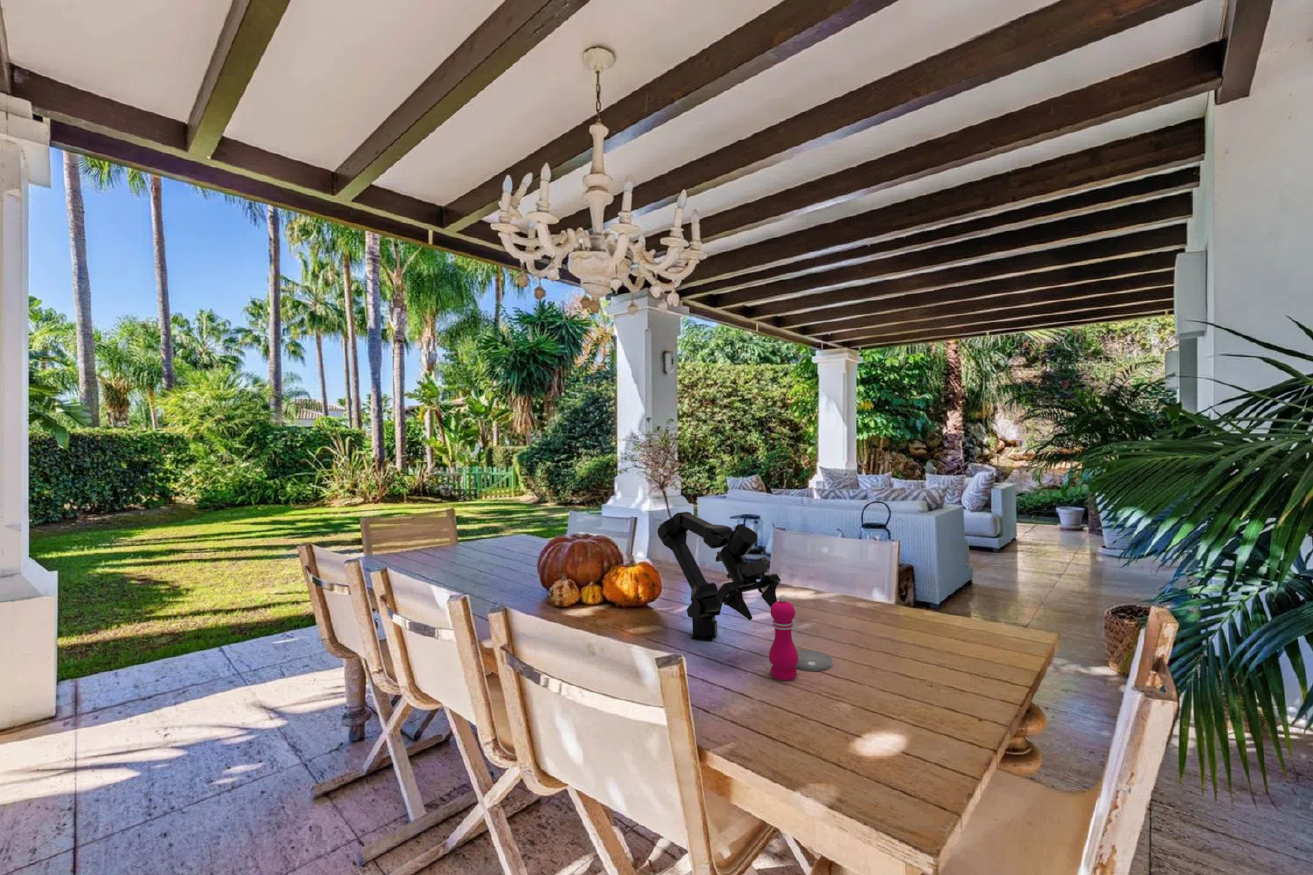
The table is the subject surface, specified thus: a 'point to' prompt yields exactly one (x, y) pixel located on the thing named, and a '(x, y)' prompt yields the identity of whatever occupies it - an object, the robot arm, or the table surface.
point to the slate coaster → (813, 661)
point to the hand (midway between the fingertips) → (764, 615)
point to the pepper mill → (783, 641)
